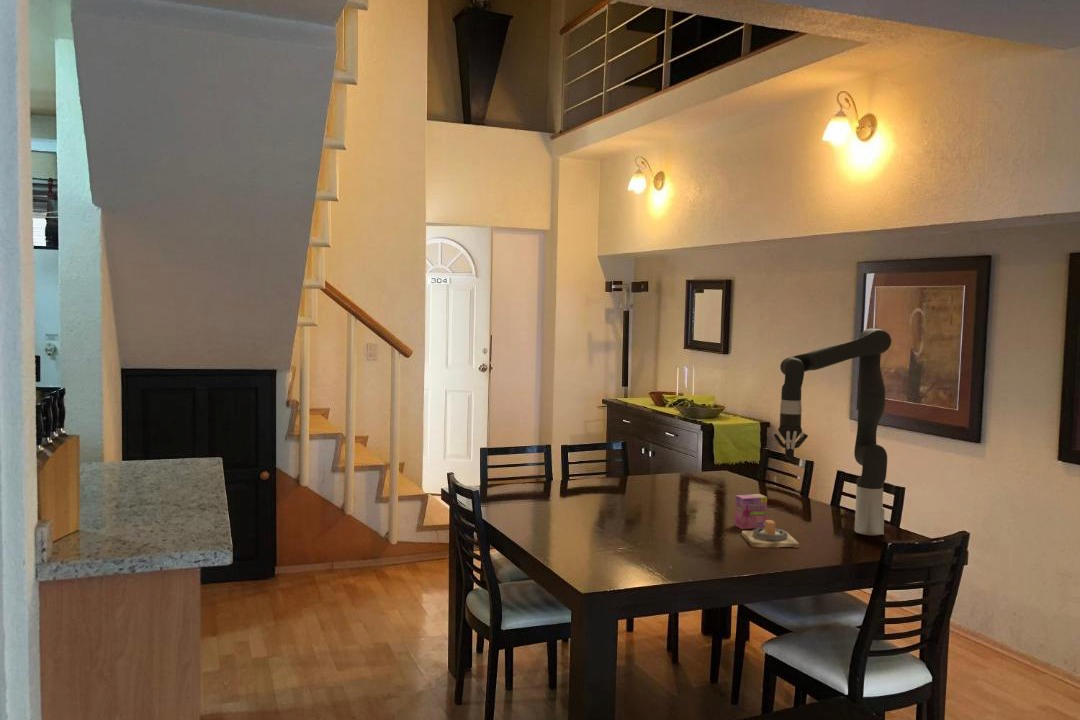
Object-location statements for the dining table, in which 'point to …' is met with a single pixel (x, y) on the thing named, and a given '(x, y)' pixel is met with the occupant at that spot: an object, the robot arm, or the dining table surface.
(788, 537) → the board
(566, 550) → the dining table surface
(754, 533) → the grey octagonal ring
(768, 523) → the white disc orange handle
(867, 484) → the robot arm
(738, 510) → the box
